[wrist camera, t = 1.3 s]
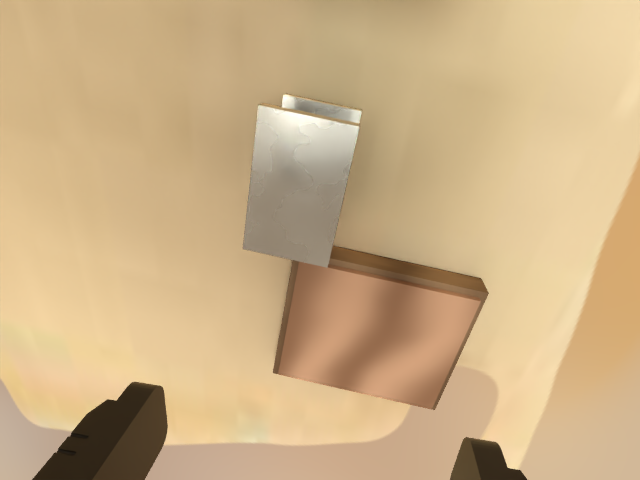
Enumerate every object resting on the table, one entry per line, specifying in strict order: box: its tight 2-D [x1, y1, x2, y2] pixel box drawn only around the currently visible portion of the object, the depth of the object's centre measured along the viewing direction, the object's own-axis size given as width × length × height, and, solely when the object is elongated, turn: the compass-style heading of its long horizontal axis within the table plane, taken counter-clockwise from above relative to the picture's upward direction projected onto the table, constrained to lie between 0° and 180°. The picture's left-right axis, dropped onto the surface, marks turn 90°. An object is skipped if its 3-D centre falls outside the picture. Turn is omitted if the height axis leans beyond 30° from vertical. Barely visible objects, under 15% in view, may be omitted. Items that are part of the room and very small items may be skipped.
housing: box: [243, 94, 362, 268], centre depth 23 cm, size 5×8×7 cm, turn 169°
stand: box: [273, 246, 489, 410], centre depth 30 cm, size 14×12×2 cm
